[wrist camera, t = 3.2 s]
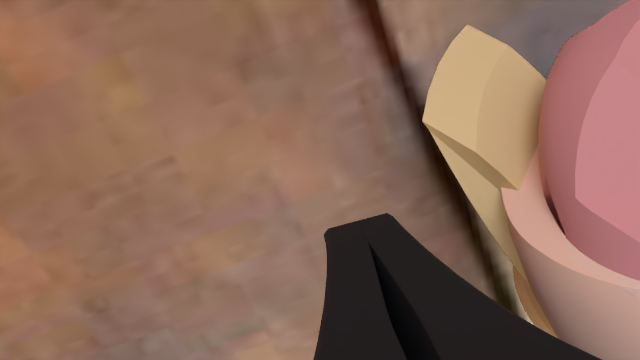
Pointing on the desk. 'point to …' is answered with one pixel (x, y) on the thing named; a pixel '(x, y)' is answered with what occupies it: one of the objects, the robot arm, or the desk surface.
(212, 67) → the desk surface
